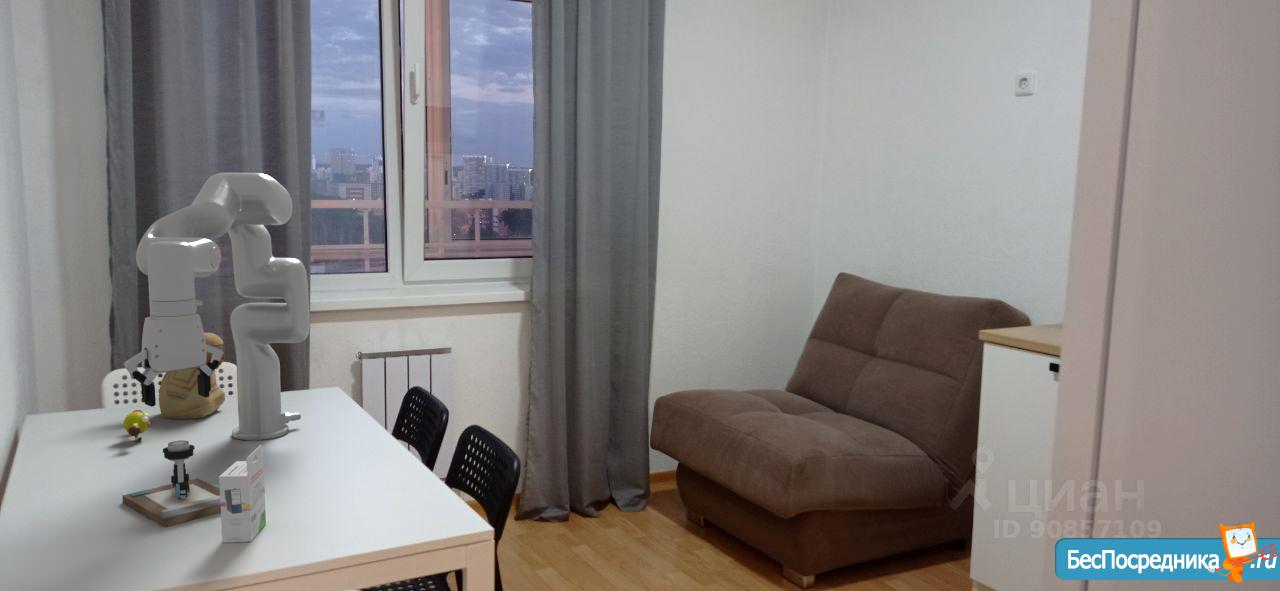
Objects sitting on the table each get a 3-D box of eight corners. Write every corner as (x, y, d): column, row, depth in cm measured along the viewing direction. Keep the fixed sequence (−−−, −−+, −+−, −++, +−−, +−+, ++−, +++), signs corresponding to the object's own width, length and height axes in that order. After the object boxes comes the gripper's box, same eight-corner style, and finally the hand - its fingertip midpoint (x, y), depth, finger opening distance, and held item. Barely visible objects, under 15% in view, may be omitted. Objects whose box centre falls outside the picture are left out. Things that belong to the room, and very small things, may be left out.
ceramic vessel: (212, 422, 231) (208, 324, 228) (134, 421, 232) (129, 322, 229) (242, 406, 248) (238, 314, 245) (169, 405, 248) (165, 313, 245)
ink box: (238, 524, 164) (234, 443, 162) (266, 524, 164) (264, 443, 163) (220, 543, 155) (216, 458, 154) (250, 543, 156) (247, 458, 154)
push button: (199, 498, 172) (196, 446, 171) (167, 503, 169) (164, 450, 168) (194, 488, 177) (192, 437, 176) (163, 492, 175) (161, 441, 173)
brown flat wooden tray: (198, 485, 184) (197, 472, 184) (241, 506, 173) (241, 492, 173) (122, 503, 174) (122, 489, 174) (164, 527, 162) (163, 512, 162)
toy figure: (150, 449, 208) (148, 419, 208) (122, 451, 206) (120, 422, 205) (152, 429, 224) (151, 402, 224) (126, 431, 222) (125, 404, 221)
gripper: (210, 302, 178) (214, 389, 180) (113, 311, 165) (119, 405, 167) (229, 306, 173) (233, 396, 175) (131, 316, 160) (136, 412, 162)
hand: (177, 400), depth 171 cm, fingers open, 9 cm apart
